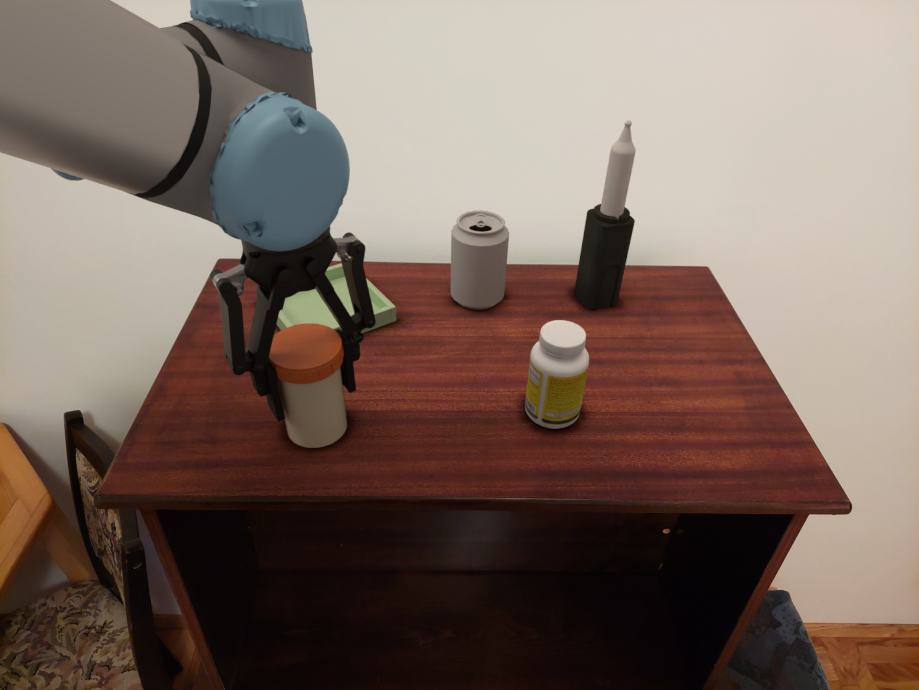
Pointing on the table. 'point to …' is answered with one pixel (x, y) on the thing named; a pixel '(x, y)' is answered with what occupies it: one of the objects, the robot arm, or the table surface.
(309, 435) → the jar
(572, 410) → the pill bottle
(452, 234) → the can
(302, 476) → the table surface
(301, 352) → the lid
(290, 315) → the tray
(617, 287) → the candle
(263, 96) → the robot arm
